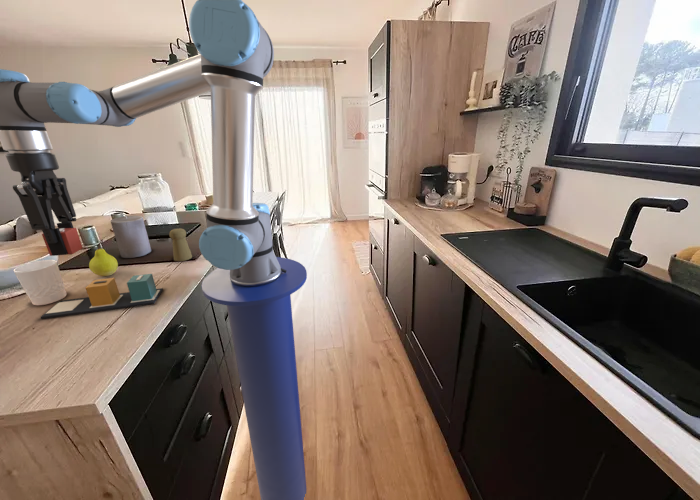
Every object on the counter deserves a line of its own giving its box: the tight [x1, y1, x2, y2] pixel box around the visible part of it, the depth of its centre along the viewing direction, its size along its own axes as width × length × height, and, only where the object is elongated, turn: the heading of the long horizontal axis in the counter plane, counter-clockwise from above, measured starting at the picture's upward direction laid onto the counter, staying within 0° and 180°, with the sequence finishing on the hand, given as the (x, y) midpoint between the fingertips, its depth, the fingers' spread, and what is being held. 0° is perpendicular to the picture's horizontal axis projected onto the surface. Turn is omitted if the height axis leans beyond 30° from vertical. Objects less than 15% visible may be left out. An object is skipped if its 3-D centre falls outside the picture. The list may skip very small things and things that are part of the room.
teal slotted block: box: [126, 273, 157, 301], centre depth 77 cm, size 4×4×6 cm
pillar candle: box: [110, 215, 152, 259], centre depth 107 cm, size 10×10×15 cm
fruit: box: [88, 238, 119, 277], centre depth 90 cm, size 7×7×12 cm
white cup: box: [12, 259, 68, 306], centre depth 76 cm, size 8×8×10 cm
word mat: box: [40, 287, 164, 320], centre depth 76 cm, size 24×8×1 cm, turn 107°
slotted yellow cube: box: [85, 277, 121, 307], centre depth 75 cm, size 4×4×6 cm
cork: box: [168, 228, 193, 262], centre depth 103 cm, size 6×6×11 cm
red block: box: [41, 227, 83, 257], centre depth 70 cm, size 4×4×6 cm
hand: (66, 250), depth 71 cm, fingers closed on red block, 4 cm apart
